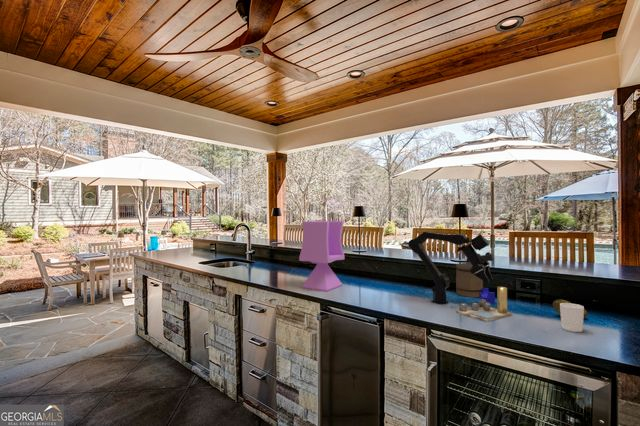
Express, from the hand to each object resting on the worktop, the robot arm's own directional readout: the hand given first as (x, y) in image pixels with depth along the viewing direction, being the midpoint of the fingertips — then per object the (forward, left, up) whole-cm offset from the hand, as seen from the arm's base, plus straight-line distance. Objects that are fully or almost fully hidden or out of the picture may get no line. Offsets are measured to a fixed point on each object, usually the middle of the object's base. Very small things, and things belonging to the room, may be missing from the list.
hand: (490, 281), depth 158 cm
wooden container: (-27, +20, -15) cm, 36 cm away
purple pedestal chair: (-88, -49, -15) cm, 102 cm away
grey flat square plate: (+6, -13, -15) cm, 20 cm away
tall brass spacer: (+7, -1, -14) cm, 15 cm away
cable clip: (-13, +16, -15) cm, 25 cm away
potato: (+25, +22, -15) cm, 36 cm away
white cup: (+33, +5, -15) cm, 36 cm away
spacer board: (+2, -8, -15) cm, 17 cm away
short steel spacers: (-2, -8, -14) cm, 16 cm away
